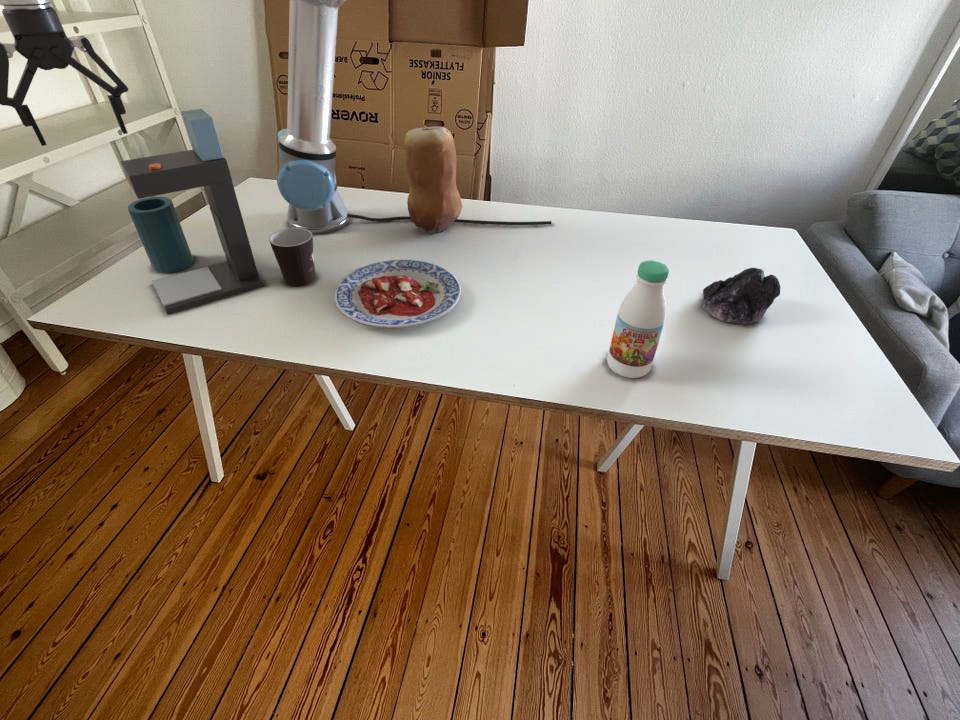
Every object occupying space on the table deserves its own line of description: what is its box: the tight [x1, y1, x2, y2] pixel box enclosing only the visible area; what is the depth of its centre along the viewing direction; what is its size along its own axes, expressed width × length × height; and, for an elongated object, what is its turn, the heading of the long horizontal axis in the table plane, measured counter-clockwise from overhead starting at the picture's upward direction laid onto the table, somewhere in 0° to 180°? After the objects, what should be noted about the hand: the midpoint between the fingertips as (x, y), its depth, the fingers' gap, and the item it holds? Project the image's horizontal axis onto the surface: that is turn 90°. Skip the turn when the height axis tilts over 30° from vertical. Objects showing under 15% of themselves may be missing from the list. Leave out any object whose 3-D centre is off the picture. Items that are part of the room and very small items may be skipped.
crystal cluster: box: [702, 267, 782, 325], centre depth 105 cm, size 13×14×10 cm
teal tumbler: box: [127, 196, 194, 274], centre depth 113 cm, size 8×8×14 cm
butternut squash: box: [403, 125, 464, 234], centre depth 126 cm, size 14×13×25 cm
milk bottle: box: [606, 259, 670, 379], centre depth 87 cm, size 8×8×20 cm
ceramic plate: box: [333, 259, 462, 329], centre depth 107 cm, size 26×26×3 cm
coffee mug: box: [268, 227, 316, 288], centre depth 111 cm, size 12×9×10 cm
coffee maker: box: [120, 108, 265, 315], centre depth 100 cm, size 13×19×33 cm
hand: (85, 137), depth 101 cm, fingers open, 13 cm apart
